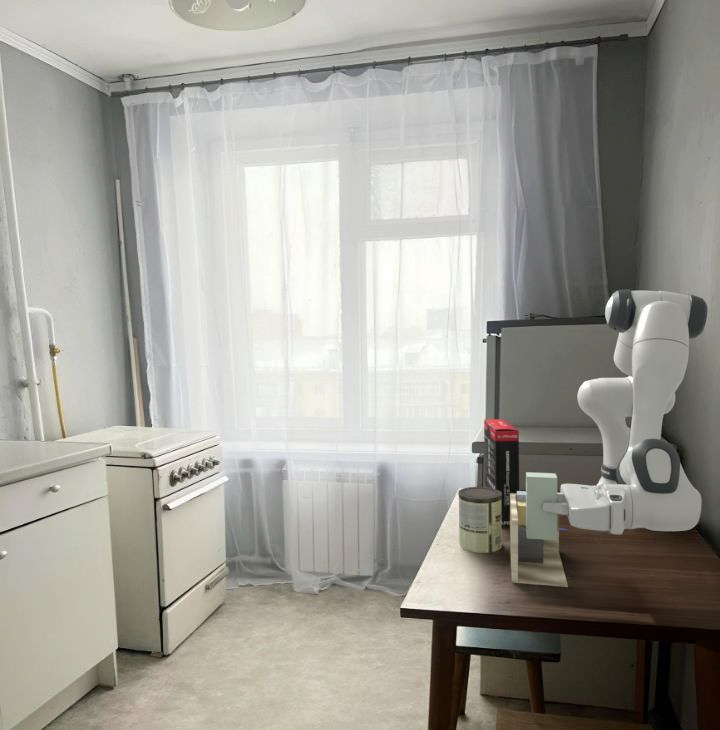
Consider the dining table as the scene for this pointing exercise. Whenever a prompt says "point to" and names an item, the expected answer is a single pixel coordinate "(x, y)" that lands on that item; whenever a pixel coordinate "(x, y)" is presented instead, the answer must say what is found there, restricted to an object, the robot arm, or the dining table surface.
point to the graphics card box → (502, 461)
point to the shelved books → (521, 508)
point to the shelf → (535, 572)
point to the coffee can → (480, 519)
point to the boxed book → (540, 506)
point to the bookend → (529, 547)
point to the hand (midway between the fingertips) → (541, 502)
